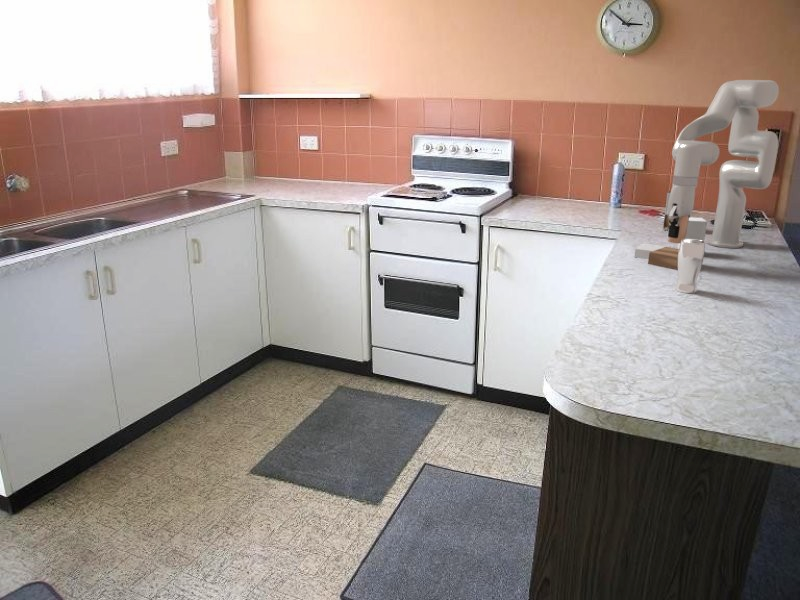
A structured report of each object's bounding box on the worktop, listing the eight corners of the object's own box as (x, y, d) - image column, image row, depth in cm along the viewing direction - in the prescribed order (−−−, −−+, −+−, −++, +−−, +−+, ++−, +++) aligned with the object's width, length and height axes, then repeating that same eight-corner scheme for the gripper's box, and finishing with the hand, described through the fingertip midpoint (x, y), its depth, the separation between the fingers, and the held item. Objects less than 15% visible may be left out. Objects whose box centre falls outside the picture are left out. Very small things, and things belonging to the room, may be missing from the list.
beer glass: (697, 288, 200) (705, 239, 195) (699, 294, 193) (707, 244, 189) (672, 285, 202) (679, 237, 197) (673, 292, 195) (680, 242, 191)
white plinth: (640, 251, 242) (641, 243, 241) (669, 255, 237) (670, 246, 236) (634, 257, 234) (635, 248, 233) (664, 261, 229) (665, 252, 228)
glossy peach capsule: (672, 239, 226) (676, 212, 224) (687, 241, 223) (691, 215, 220) (665, 241, 223) (669, 214, 220) (680, 244, 219) (684, 217, 217)
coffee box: (688, 230, 277) (694, 191, 272) (685, 233, 272) (691, 193, 267) (665, 227, 282) (670, 189, 277) (662, 230, 276) (667, 191, 271)
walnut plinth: (664, 257, 234) (665, 246, 232) (698, 264, 225) (700, 253, 224) (647, 263, 226) (649, 252, 224) (682, 271, 217) (684, 259, 216)
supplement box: (702, 256, 236) (707, 221, 232) (680, 255, 237) (685, 220, 233) (697, 251, 243) (703, 217, 239) (676, 250, 244) (681, 216, 240)
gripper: (685, 178, 225) (677, 231, 231) (661, 182, 214) (654, 238, 219) (707, 180, 220) (699, 234, 225) (684, 185, 208) (676, 242, 214)
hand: (677, 235), depth 222 cm, fingers closed on glossy peach capsule, 5 cm apart
